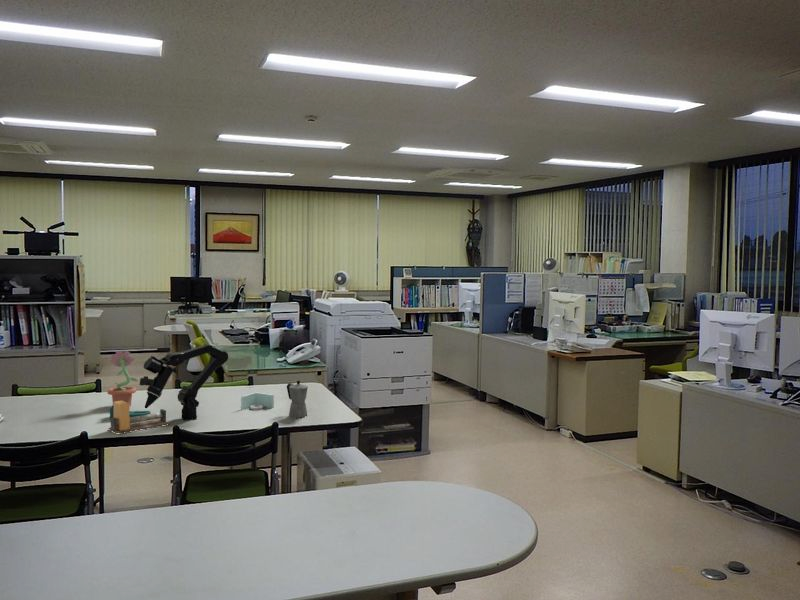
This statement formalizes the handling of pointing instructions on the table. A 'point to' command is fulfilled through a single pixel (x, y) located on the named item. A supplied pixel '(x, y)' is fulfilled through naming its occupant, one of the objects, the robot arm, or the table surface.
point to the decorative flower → (122, 392)
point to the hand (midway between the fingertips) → (145, 407)
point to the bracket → (130, 413)
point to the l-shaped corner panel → (257, 401)
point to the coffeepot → (297, 399)
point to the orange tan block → (122, 414)
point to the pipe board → (141, 422)
